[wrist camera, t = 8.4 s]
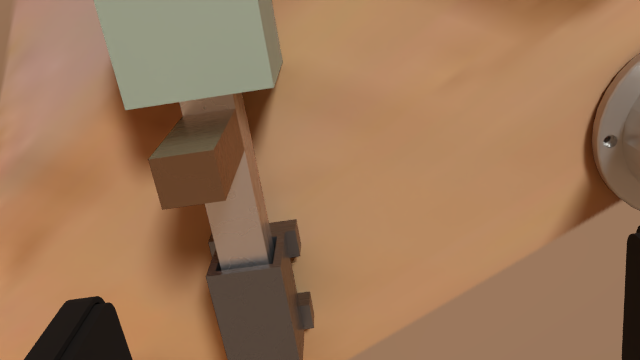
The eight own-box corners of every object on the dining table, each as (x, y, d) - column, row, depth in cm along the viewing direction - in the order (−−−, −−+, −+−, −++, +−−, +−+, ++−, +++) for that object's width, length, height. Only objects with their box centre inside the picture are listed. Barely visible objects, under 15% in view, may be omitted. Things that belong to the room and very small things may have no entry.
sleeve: (296, 219, 41) (291, 265, 35) (314, 314, 44) (312, 371, 38) (212, 230, 42) (194, 278, 36) (235, 324, 45) (222, 381, 39)
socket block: (264, -39, 35) (251, -34, 28) (282, 61, 37) (273, 87, 31) (134, -17, 35) (91, -7, 29) (159, 81, 38) (125, 110, 31)
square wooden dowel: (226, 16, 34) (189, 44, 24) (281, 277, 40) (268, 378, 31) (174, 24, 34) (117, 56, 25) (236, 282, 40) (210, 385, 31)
